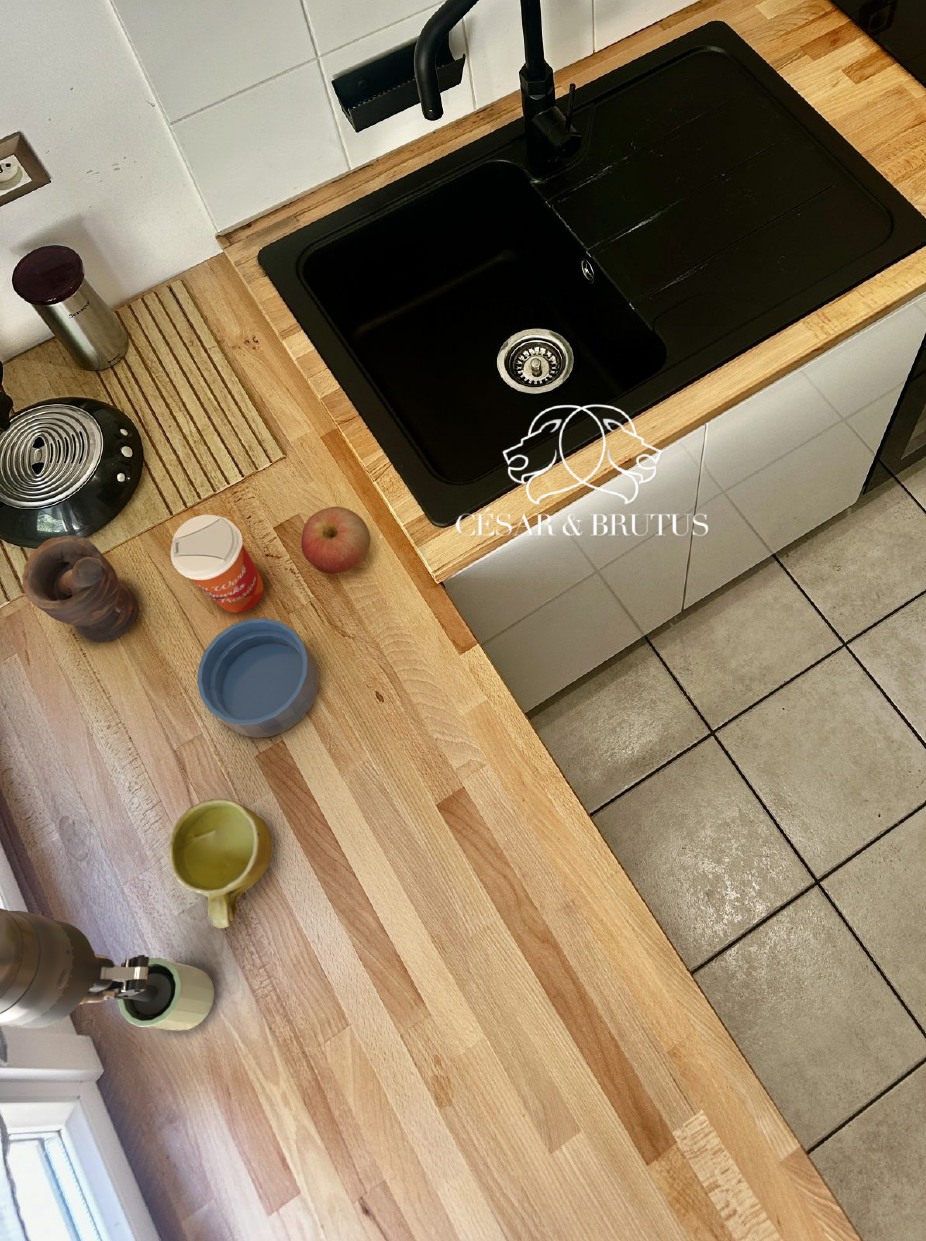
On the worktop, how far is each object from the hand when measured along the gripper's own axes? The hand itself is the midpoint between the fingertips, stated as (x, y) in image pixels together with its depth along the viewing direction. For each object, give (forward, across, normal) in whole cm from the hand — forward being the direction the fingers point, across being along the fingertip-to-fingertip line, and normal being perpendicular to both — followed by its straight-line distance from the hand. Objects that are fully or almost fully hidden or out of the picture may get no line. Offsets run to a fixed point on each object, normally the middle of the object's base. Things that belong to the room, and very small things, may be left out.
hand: (111, 986), depth 99 cm
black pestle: (+12, 0, 0) cm, 12 cm away
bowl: (+19, -6, -32) cm, 38 cm away
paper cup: (+19, -2, -44) cm, 48 cm away
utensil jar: (+19, 0, 0) cm, 19 cm away
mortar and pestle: (+19, +12, -42) cm, 48 cm away
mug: (+19, -4, -12) cm, 23 cm away
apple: (+19, -14, -48) cm, 54 cm away
